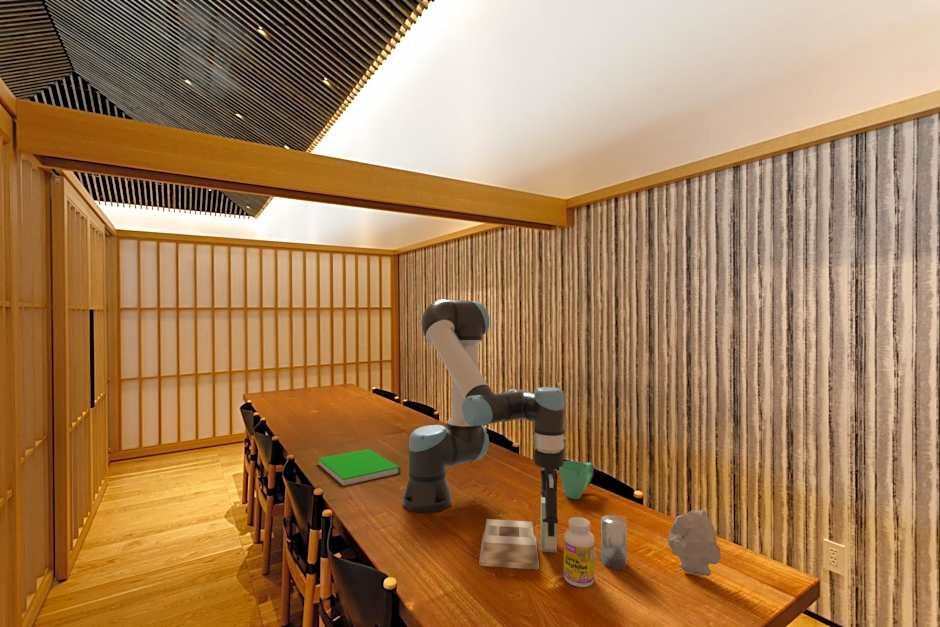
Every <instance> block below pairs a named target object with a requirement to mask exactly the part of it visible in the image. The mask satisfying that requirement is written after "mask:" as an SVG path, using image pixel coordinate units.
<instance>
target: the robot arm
mask: <svg viewBox="0 0 940 627" xmlns="http://www.w3.org/2000/svg"><path fill="white" fill-rule="evenodd" d="M420 321H421V330H422V333H423V336H424V337H425V340H426V341H427V342H428V343H429V344H431V345H433V347H434V349H435V350H436V352H437V354H438V356H439V357H440V359H441V361H442V362H443V364H444V366H445V368H446V370H447V371H448V373H449V375H450V376H451V416H450V417H449V419H447V422H446V426H444V425H441V424H433V425H431V424H428V425H423V426H420V427H418V428H416V429H414V430H413V431H411V434H410V435H409V441H408V442H409V443H408V454H409V455H408V459H409V460H408V479H407V483H406V487H405V490H404V493H403V496H402V505H403V507H404V508H405V509H406V510H409V511H411V512H414V513H420V514H421V513H422V514H423V513H424V514H428V513H431V514H432V513H437V512H440V511H443V510H446V509H447V508H448V507H450V505H451V504H452V494H451V490H450V487H449V484H448V481H447V476H446V475H447V472H446V471H447V467H450V466H455V465H459V464H460V465H461V464H465V463H472V462H475V461H478V460H481V459H483V457H484V456H485V455H486V454H487V451H488V448H489V443H490V442H489V441H490V440H489V439H490V438H489V434H488V433H487V432H488V431H487V429H486V427H485V426H487V425H491V424H496V423H504V422H513V421H518V420H519V421H520V420H525V421H527V422H528V421H529V422H532V423H534V429H533V430H534V431H533V446H534V449H533V450H534V452H533V454H534V456H533V461H534V464H535V465H536V466H538V467H540V468H541V469H540V478H541V479H540V480H541V483H540V484H541V492H540V494H541V497H545V509H546V518H545V519H543V522H545V548H548V549H556V523H557V524H558V523H559V520H558V498H557V497H558V496H557V495H558V493H557V491H558V477H559V476H558V473H557V470H555V469H557V468H558V469H559V468H560V467H562V466H563V465H564V461H565V451H564V450H563V449H564V448H565V441H566V440H567V437H566V436H565V408H566V404H565V393H564V391H563V390H562V389H561V388H558V387H551V386H550V387H549V386H548V387H547V386H540V387H537V388H536V389H535V390H534V392H531V391H527V390H523V389H519V388H518V389H513V388H512V389H508V390H507V391H506V392H500V393H499V392H498V393H497V392H496V393H494V392H493V390H492V389H491V387H490V386H489V385H488V383H487V381H486V380H485V378H484V377H483V374H482V373H481V372H480V370H479V368H478V360H479V359H478V356H479V354H478V352H479V350H478V348H479V347H478V346H479V344H480V343H482V342H483V336H485V334H486V333H487V332H488V329H489V328H490V322H491V321H490V315H489V313H488V310H487V308H486V307H485V305H484V304H482V303H481V302H479V301H476V300H475V301H473V300H460V299H459V300H457V299H456V300H453V299H451V300H450V299H438V300H435V301H433V302H431V303H430V304H429V305H428V306H426V308H425V310H424V311H423V314H422V317H421V320H420Z"/></svg>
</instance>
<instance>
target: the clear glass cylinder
mask: <svg viewBox="0 0 940 627" xmlns="http://www.w3.org/2000/svg"><path fill="white" fill-rule="evenodd" d="M600 523H601V524H600V540H601V541H600V562H601V564H602V565H603V566H604V567H606V568H609V569H611V570H614V571H615V570H617V571H621V570H624V569H626V567H627V563H628V562H627V554H628V553H627V552H628V551H627V550H628V549H627V544H628V542H627V539H628V538H627V535H628V533H627V531H628V527H627V526H628V525H627V520H626V519H625V518H623V517H621V516H617V515H613V514H605V515H603V516H602V517H601V519H600Z"/></svg>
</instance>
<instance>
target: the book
mask: <svg viewBox="0 0 940 627" xmlns="http://www.w3.org/2000/svg"><path fill="white" fill-rule="evenodd" d="M317 460H318V465H319V466H320V467H321V468H322V469H323V470H325V471H326V472H327V473H328V474H329V475H330V476H331V477H333V478H334V479H335V480H336V481H337V482H338V483H339V484H341V486H348V485H352V484H357V483H361V482H366V481H370V480H375V479H378V478H379V479H380V478H383V477H389V476H393V475H398V474H399V475H400V474H401V472H402V470H401V467H400V466H399V465H397V464H396V463H393V462H392V461H391V460H388V459H387V458H385V457H383V456H381V455H380V454H378V453H376V452H375V451H373V450H371V449H370V448H369V449H368V448H367V449H362V450H355V451H350V452H346V453H338V454H333V455H328V456H324V457H318V458H317Z"/></svg>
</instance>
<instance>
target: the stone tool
mask: <svg viewBox="0 0 940 627" xmlns="http://www.w3.org/2000/svg"><path fill="white" fill-rule="evenodd" d="M667 542H668V544H667V545H668V546H669V548H670V549H671V552H672V554H673V555H674V556H678V558H679V559H680V562H681V564H680V568H681V569H682V570H683V571H684V572H685V573H689V574H691V576H694V575H696V576H697V575H699V576H701V577H703V576H705V577H709V576H711V575H712V570H711V569H710V567H709V564H711V565H717V564H718V563H719V562H720V560H721V558H722V555H721V553H722V551H721V547H720V545H719V544H717V543H718V542H717V531H716V529H715V527H714V525H713V524H712V522H711V520H710V518H709V516H708V513H707V512H706V510H704V509H700V510H695V509H692V510H691V511H688V512H687V513H684V514H681V515H677V516H676V517H675V519H674V521H673V523H672V526H671V527H670V530H669V534H668V536H667Z"/></svg>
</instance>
